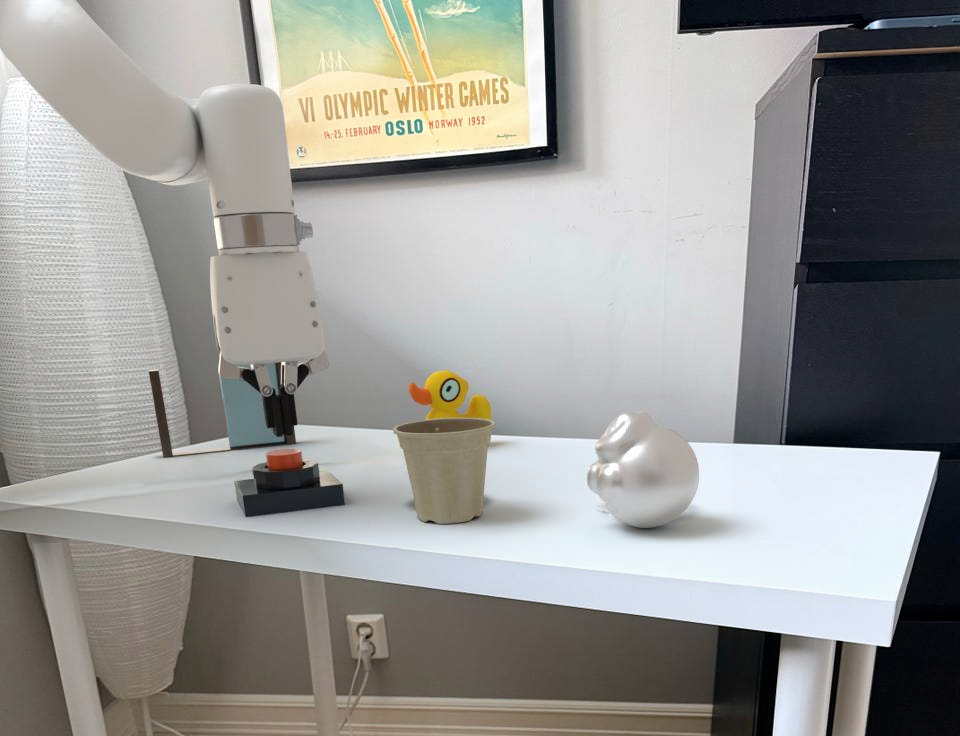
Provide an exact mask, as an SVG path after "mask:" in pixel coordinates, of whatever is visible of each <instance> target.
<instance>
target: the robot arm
mask: <svg viewBox="0 0 960 736" xmlns="http://www.w3.org/2000/svg"><path fill="white" fill-rule="evenodd" d="M0 51H1V52H2V54H3V55H4V57H5V58H6V59H7V60H8V61H9V62H10V63H11V64H12V65H13V66H14V68H15V69H16V71H18V72H19V73H20V75H21V76H22V77H23V78H24V79H25V81H26V82H27V83H28V85H30V86H31V87H32V89H33V90H34V91H35V92H36V93H37V94H38V95H39V96H40V97H41V98H42V99H43V100H44V101H45V102H46V104H48V106H50V107H51V108H52V109H53V110H54V111H55V112H56V113H57V114H58V115H59V116H60V117H61V118H62V119H63V120H64V121H65V122H66V123H67V124H68V125H69V126H71V128H72V129H74V131H75V132H77V134H79V135H80V136H81V137H82V138H83V139H84V140H85V141H86V142H87V143H88V144H89V145H91V146H92V147H93V148H94V150H96V151H97V152H98V153H99V154H100V155H101V156H103V157H104V158H105V159H106V160H107V161H109V163H111V164H113V166H115V167H117V168H118V169H119V170H122V171H124V172H125V173H128V174H129V175H133V176H136V177H140V178H144V179H146V180H149V181H152V182H154V183H159V184H162V185H167V186H183V185H190V184H194V183H198V182H203V181H206V180H207V181H208V183H207V184H208V189H209V197H210V203H211V210H212V215H213V216H212V217H213V224H214V231H215V232H214V233H215V238H216V245H217V250H218V251H217V253H218V255H212V256H210V261H209V262H210V264H209V278H210V279H209V285H210V300H211V311H212V321H213V329H214V337H215V344H216V349H217V353H218V356H219V360H218V361H219V362H218V365H219V370H218V375H219V374H220V375H221V376H222V377H223V378H229V379H235V380H242V381H246V382H247V383H248V384H250V385H251V386H252V387H253V388H255V389H256V390H257V391H258V392H260V393H261V394H262V400H263V408H264V415H265V422H266V427H267V428H272V429H273V434H274V435H275V436H276V437H282V435H284V434H285V435H287V436H292V435H293V431H292V426H294V427H296V426H298V416H297V408H296V407H297V406H296V399H295V394H296V393H297V391H298V389H299V387H300V386H301V385H302V383H304V381H305V379H306V378H307V377H308V376H310V375H313V374H317V373H319V372H322V371H325V370H327V369H329V368H330V367H329V366H330V364H329V359H328V357H327V354H326V351H325V348H326V347H325V346H326V344H325V332H324V326H323V319H322V314H321V313H322V312H321V308H320V302H319V297H318V292H317V286H316V282H315V278H314V273H313V270H312V267H311V264H310V260H309V255H308V253H307V251H305V250H304V251H303V250H302V251H301V250H300V246H301V242H302V241H303V240H306V239H310V238H313V236H314V229H313V225H312V222H304V220H300V218H298V215H297V214H296V209H295V200H294V192H293V183H292V174H291V166H290V157H289V148H288V140H287V131H286V121H285V120H286V119H285V113H284V108H283V102H282V100H281V98H280V96H279V94H277V93H276V92H275V91H274V90H273V89H272V88H270V87H267V86H265V85H262V84H256V83H255V84H254V83H252V84H251V83H226V84H219V85H214V86H211V87H208V88H206V89H205V90H204V91H203V92H202V93H201V94H200V96H199V98H197V97H194V98H193V97H185V96H181V95H179V94H177V93H174V92H172V91H170V90H168V89H167V88H165V87H163V86H162V85H160V84H158V82H156V81H155V80H153V79H152V78H151V76H150V75H148V74H147V73H146V72H145V71H144V70H143V69H142V68H141V67H140V66H139V65H138V64H137V63H136V62H135V61H133V60H132V59H131V57H130V56H129V55H128V54H127V53H126V52H124V50H123V49H122V48H120V46H118V45H117V43H115V41H114V40H113V39H112V38H111V37H110V36H109V35H108V34H107V33H106V32H105V31H104V30H103V29H102V28H101V27H100V26H99V25H98V24H97V23H96V22H95V21H94V19H93V18H92V17H91V16H90V15H89V13H87V12H86V11H85V9H84V8H83V7H82V5H80V3H79V2H78V1H77V0H0ZM299 361H303V362H300V363H299ZM278 362H281V385H280V387H279V392H278V394H277V395H276V391H275V389H274V388H273V387H272V384H271V381H270V377H269V374H268V370H267V367H266V363H278ZM234 364H235V365H251V369H252V370H251V369H249V368H243V367H238V366H235V365H234Z"/></svg>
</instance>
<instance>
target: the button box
mask: <svg viewBox="0 0 960 736" xmlns="http://www.w3.org/2000/svg"><path fill="white" fill-rule="evenodd" d="M302 460H303V466H300V467H296V468H290V469H268V467H267V461H266V462H261V463H258V464H256V465H254V466H252V467H251V468H252V475H253V478H248V479H240V480H234V481H233V483H234V488H235V489H234V490H235V495H236V501H237V504H238V506H239V507H240V509H241V511H242V513H243V515H244V517H245V518H252V517H260V516H268V515H276V514H284V513H291V512H293V513H294V512H300V511H307V510H316V509H317V510H318V509H324V508H332V507H340V506H345V504H346V502H345V493H344V485H343V483H342V482H341V481H340V480H339V479H338V478H337V477H336V476H335V475H333V474H332V473H331V472H330V471H329V470H320V468H319V463H318V462H317V461H316V460H314V459H309V458H308V459H307V458H302Z"/></svg>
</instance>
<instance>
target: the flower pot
mask: <svg viewBox="0 0 960 736" xmlns="http://www.w3.org/2000/svg"><path fill="white" fill-rule="evenodd" d="M495 427H496V421H494V420H493V419H491V420H489V419H481V418H438V419H430V420H425V419H421V420H414V421H409V422H404V423H401V424H398V425H395V426H394V427H393V428H392V431H393V434H395V435H397V439H398V440H397V441H398V443H399V447H400V449H401V450H402V451H403V455H404V456H403V457H404V460H405V461H404V462H405V465H406V469H407V474H408V478H409V483H410V487H411V492H412V496H413V502H414V506H415V510H416V516H417V519H419V520H420V521H421V522H424V523H426V522H430V521H432V522H434V523H436V524H439V525H450V524H455V523H456V524H459V523H460V524H461V523H466V522H470V521H472V520H473V518H480V517H481V516H482V515H483V512H484V496H485V486H486V485H485V484H486V471H487V461H488V460H487V459H488V449H489V444H490V443H491V440H492V432H493V431H492V430H493V429H494V428H495Z"/></svg>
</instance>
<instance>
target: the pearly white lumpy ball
mask: <svg viewBox="0 0 960 736" xmlns="http://www.w3.org/2000/svg"><path fill="white" fill-rule="evenodd" d="M594 452H595V454H596V456H597V461H595V462H593V463H592V464H591V465H590V466H589V467H588V469H587V472H586V483H587V486H588V488H589V490H590V491H591V492H593V493H594V494H596V495H597V496H598V497H599V498H600V500H601V501H603V502H604V503H605V508H606V510H607V512H608V513H609V514H610V516H612V517H614V518H615V519H616V520H618V521H619V522H621V523H623V524H625V525H628V526H629V527H634V528H640V529H651V528H658V527H661V526H664V525H667V524H669V523H671V522H673V521H674V520H676V519H678V518H679V517H680V516H681V515H683V513H685V511H686V510H687V509H688V508H689V506H690V505H691V504H692V502H693V501H694V498H695V497H696V495H697V492H698V487H699V484H700V483H699V482H700V467H699V462H698V458H697V456H696V455H697V454H696V453H695V451H694V450H693V447H692V446H691V445H690V443H689V442H688V441H687V440H686V439H685V438H684V437H683V436H682V435H681V434H679V433H678V432H677V431H675V430H673V429H671V428H669V427H667V426H664V425H659V424H657V423H656V422H654V420H653V419H652V418H651V416H650V414H649V413H648V412H645V411H639V412H633V411H624V412H621V413H620V414H618V415H617V416H616V417H615V418H614V419H612V421H611V422H610V423H609V425H608V426H607V428H606V429H605V432H604V433H602V435H600V437H599V439H598V440H597V442H596V444H595V446H594Z"/></svg>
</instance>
